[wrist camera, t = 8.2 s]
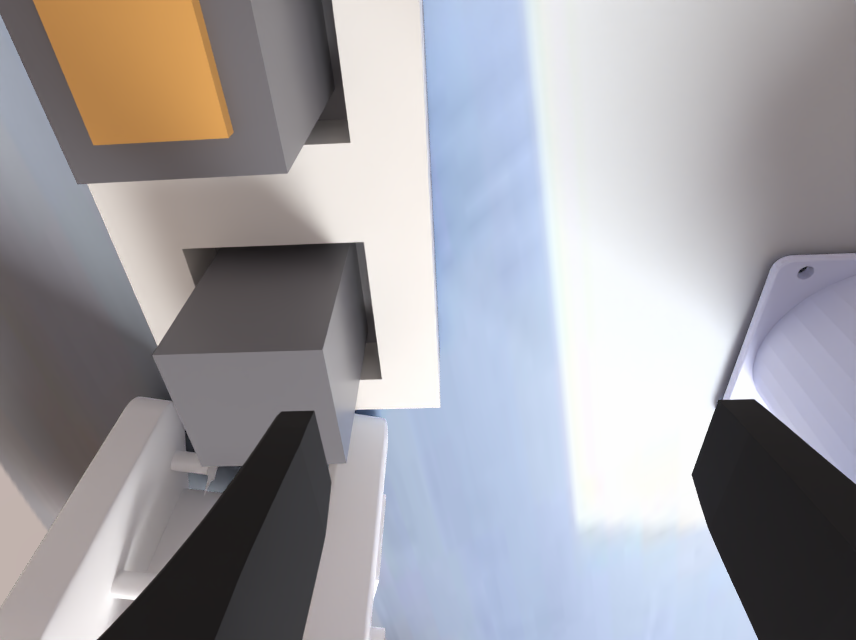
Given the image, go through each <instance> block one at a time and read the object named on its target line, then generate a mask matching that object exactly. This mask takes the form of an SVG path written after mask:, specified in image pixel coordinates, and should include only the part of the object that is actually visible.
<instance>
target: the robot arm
mask: <svg viewBox="0 0 856 640" xmlns="http://www.w3.org/2000/svg"><path fill="white" fill-rule="evenodd" d="M807 266H808V267H807ZM804 267H807V268H806V270H804V271H803V272H801V273H798V272H799V271H800V270H801V269H802V268H804ZM692 477H693V480H694V484H695V487H696V491H697V494H698V497H699V501H700V504H701V507H702V510H703V513H704V517H705V520H706V523H707V526H708V529H709V531H710V534H711V536H712V538H713V540H714V543H715V545H716V547H717V549H718V552H719V554H720V556H721V558H722V561H723V563H724V565H725V567H726V570H727V572H728V574H729V576H730V578H731V581H732V583H733V585H734V587H735V589H736V592H737V594H738V596H739V598H740V600H741V602H742V605H743V607H744V609H745V611H746V613H747V616H748V618H749V620H750V622H751V624H752V626H753V629H754V631H755V633H756V635H757V637H758V640H856V253H844V254H817V255H790V256H785V257H782V258H780V259H778V260H777V261H776V262H775V263H774V264H773V265H772V267H771V269H770V272H769V274H768V277H767V280H766V283H765V285H764V288H763V291H762V293H761V296H760V299H759V302H758V304H757V307H756V310H755V313H754V315H753V318H752V321H751V323H750V326H749V329H748V332H747V334H746V337H745V340H744V343H743V345H742V348H741V351H740V353H739V356H738V359H737V362H736V364H735V367H734V370H733V373H732V375H731V378H730V381H729V384H728V386H727V389H726V392H725V394H724V397H723V400H718V403H717V406H716V409H715V411H714V414H713V417H712V420H711V423H710V425H709V428H708V431H707V434H706V436H705V439H704V442H703V445H702V447H701V450H700V453H699V456H698V459H697V461H696V464H695V467H694V470H693V472H692ZM331 483H332V482H331V478H330V474H329V469H328V465H327V461H326V457H325V453H324V449H323V444H322V440H321V436H320V432H319V428H318V424H317V419H316V415H315V411H281V412H280V413H279V414H278V415H277V416H276V418H275V419H274V421H273V422H272V424H271V425H270V427H269V428H268V430H267V431H266V433H265V434H264V435H263V437H262V438H261V440H260V441H259V443H258V444H257V446H256V447H255V449H254V450H253V452H252V453H251V455H250V456H249V457H248V459H247V460H246V462H245V463H244V464H243V466H242V467H241V469H240V470H239V472H238V473H237V474H236V476H235V477H234V479H233V480H232V481H231V483H230V484H229V485H228V487H227V488H226V489H225V491H224V492H223V493H222V495H221V496H220V497H219V499H218V500H217V501H216V503H215V504H214V505H213V507H212V508H211V509H210V511H209V512H208V513H207V515H206V516H205V517H204V519H203V520H202V521H201V522H200V524H199V525H198V526H197V527H196V529H195V530H194V531H193V532H192V533H191V535H190V536H189V537H188V538H187V540H186V541H185V542H184V543H183V544H182V546H181V547H180V548H179V549H178V551H177V552H176V553H175V554H174V555H173V557H172V558H171V559H170V560H169V562H168V563H167V564H166V565H165V566H164V567H163V569H162V570H161V571H160V572H159V573H158V574H157V575H156V577H155V578H154V579H153V580H152V581H151V582H150V583H149V585H148V586H147V587H146V588H145V589H144V590H143V591H142V592H141V594H140V595H139V596H138V597H137V598H136V599H135V600H134V601H133V602H132V603H131V604H130V605H129V607H128V608H127V609H126V610H125V611H124V612H123V613H122V614H121V615H120V616H119V617H118V618H117V619H116V620H115V622H114V623H113V624H112V625H111V626H110V627H109V628H108V629H107V630H106V631H105V632H104V633H103V634H102V635H101V636H100V637H99V638H98V639H97V640H302V639H303V635H304V630H305V626H306V621H307V617H308V613H309V608H310V604H311V599H312V595H313V591H314V586H315V582H316V577H317V573H318V568H319V564H320V559H321V555H322V550H323V546H324V541H325V536H326V529H327V520H328V512H329V502H330V492H331Z"/></svg>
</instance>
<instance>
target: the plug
mask: <svg viewBox="0 0 856 640" xmlns="http://www.w3.org/2000/svg"><path fill="white" fill-rule="evenodd" d="M0 14H1V17H2V19H3V21H4V23H5V25H6V28H7V30H8V32H9V34H10V36H11V39H12V41H13V43H14V45H15V47H16V50H17V52H18V54H19V56H20V58H21V61H22V63H23V65H24V67H25V69H26V72H27V74H28V76H29V78H30V80H31V83H32V85H33V87H34V89H35V92H36V94H37V96H38V98H39V100H40V103H41V105H42V107H43V109H44V111H45V114H46V116H47V118H48V120H49V122H50V125H51V127H52V129H53V131H54V133H55V136H56V138H57V140H58V142H59V144H60V147H61V149H62V151H63V153H64V155H65V158H66V160H67V162H68V164H69V167H70V169H71V171H72V173H73V175H74V178H75V180H76V182H77V184H94V183H113V182H133V181H152V180H172V179H191V178H211V177H230V176H249V175H269V174H288V172H289V170H290V169H291V167H292V165H293V163H294V161H295V160H296V158H297V156H298V154H299V153H300V151H301V149H302V147H303V145H304V144H305V142H306V140H307V138H308V136H309V135H310V133H311V131H312V129H313V128H314V126H315V124H316V122H317V120H318V119H319V117H320V115H321V113H322V112H323V110H324V108H325V106H326V104H327V103H328V101H329V99H330V97H331V95H332V94H333V92H334V90H335V84H334V78H333V71H332V64H331V58H330V51H329V44H328V37H327V31H326V24H325V17H324V11H323V4H322V0H0Z"/></svg>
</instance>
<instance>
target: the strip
mask: <svg viewBox="0 0 856 640" xmlns="http://www.w3.org/2000/svg"><path fill="white" fill-rule="evenodd" d="M322 4H323V11H324V17H325V24H326V31H327V37H328V44H329V51H330V58H331V64H332V71H333V78H334V84H335V90H334V92H333V94H332V95H331V97H330V99H329V101H328V103H327V104H326V106H325V108H324V110H323V112H322V113H321V115H320V117H319V119H318V120H317V122H316V124H315V126H314V128H313V129H312V131H311V133H310V135H309V136H308V138H307V140H306V142H305V144H304V145H303V147H302V149H301V151H300V153H299V154H298V156H297V158H296V160H295V161H294V163H293V165H292V167H291V169H290V170H289V172H288V174H269V175H249V176H230V177H211V178H191V179H172V180H152V181H133V182H113V183H94V184H88V187H89V189H90V191H91V194H92V196H93V198H94V201H95V203H96V205H97V207H98V210H99V212H100V214H101V217H102V219H103V221H104V224H105V226H106V228H107V231H108V233H109V235H110V237H111V240H112V242H113V244H114V247H115V249H116V251H117V254H118V256H119V258H120V261H121V263H122V265H123V267H124V270H125V272H126V274H127V277H128V279H129V281H130V284H131V286H132V288H133V291H134V293H135V295H136V297H137V300H138V302H139V304H140V307H141V309H142V311H143V314H144V316H145V318H146V321H147V323H148V325H149V327H150V330H151V332H152V334H153V337H154V339H155V341H156V344H157V346H158V347H157V348H156V350H155V351H154V353H153V354H152V356H153V358H154V361H155V363H156V365H157V367H158V370H159V372H160V374H161V376H162V379H163V381H164V383H165V385H166V388H167V390H168V392H169V394H170V397H171V399H172V401H173V403H174V406H175V408H176V410H177V412H178V414H179V417H180V419H181V421H182V423H183V426H184V428H185V430H186V432H187V435H188V437H189V439H190V441H191V444H192V446H193V448H194V450H195V453H196V455H197V457H198V459H199V462H200V464H201V466H202V467H213V466H243V464H244V463H245V462H246V460H247V459H248V457H249V456H250V455H251V453H252V452H253V450H254V449H255V447H256V446H257V444H258V443H259V441H260V440H261V438H262V437H263V435H264V434H265V433H266V431H267V430H268V428H269V427H270V425H271V424H272V422H273V421H274V419H275V418H276V416H277V415H278V414H279V413H280V412H281V411H315V415H316V419H317V424H318V428H319V432H320V436H321V440H322V444H323V449H324V453H325V457H326V461H327V464H346V463H347V457H348V450H349V444H350V438H351V432H352V426H353V420H354V413H355V410H365V409H403V408H440V347H439V327H438V306H437V285H436V264H435V243H434V222H433V201H432V180H431V160H430V139H429V118H428V97H427V76H426V55H425V34H424V13H423V0H322Z"/></svg>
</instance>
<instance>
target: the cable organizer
mask: <svg viewBox="0 0 856 640" xmlns="http://www.w3.org/2000/svg"><path fill="white" fill-rule="evenodd" d="M387 446H388V427H387V421H386V419H385V418H381V417H374V416H368V415H361V414H354V420H353V426H352V432H351V438H350V444H349V450H348V457H347V463H346V464H329V467H328V469H329V474H330V478H331V482H332V483H331V492H330V502H329V512H328V520H327V529H326V536H325V541H324V546H323V550H322V555H321V559H320V564H319V568H318V573H317V577H316V582H315V586H314V591H313V595H312V599H311V604H310V608H309V613H308V617H307V621H306V626H305V630H304V635H303V639H302V640H385V628H381V627H372V626H371V622H372V611H373V600H374V596H375V592H376V589H377V585H378V582H379V574H380V562H381V551H382V539H383V528H384V516H385V504H386V495H384V494H383V491H384V480H385V469H386V458H387ZM217 468H218V466H213V467H202V466H201V464H200V462H199V459H198V457H197V455H196V453H194V452H187V451H186V441H185V428H184V426H183V423H182V421H181V419H180V417H179V414H178V412H177V410H176V408H175V406H174V403H173V401H168V400H162V399H155V398H148V397H141V396H139V397H136V398H134V399H133V400H131V401H130V402H129V403H128V405H127V406H126V407H125V409H124V410H123V412H122V414H121V415H120V417H119V418H118V420H117V422H116V423H115V425H114V426H113V428H112V430H111V431H110V433H109V434H108V436H107V438H106V439H105V441H104V442H103V444H102V446H101V447H100V449H99V450H98V452H97V454H96V455H95V457H94V458H93V460H92V462H91V463H90V465H89V466H88V468H87V470H86V471H85V473H84V474H83V476H82V478H81V479H80V481H79V482H78V484H77V486H76V487H75V489H74V490H73V492H72V494H71V495H70V497H69V498H68V500H67V502H66V503H65V505H64V506H63V508H62V510H61V511H60V513H59V514H58V516H57V518H56V519H55V521H54V522H53V524H52V526H51V527H50V529H49V530H48V532H47V534H46V535H45V537H44V539H43V540H42V542H41V543H40V545H39V547H38V548H37V550H36V551H35V553H34V555H33V556H32V558H31V559H30V561H29V563H28V564H27V566H26V567H25V569H24V571H23V572H22V574H21V576H20V577H19V579H18V580H17V582H16V583H15V585H14V587H13V588H12V590H11V591H10V593H9V595H8V596H7V598H6V599H5V601H4V603H3V604H2V606H1V608H0V640H97V639H98V638H99V637H100V636H101V635H102V634H103V633H104V632H105V631H106V630H107V629H108V628H109V627H110V626H111V625H112V624H113V623H114V622H115V620H116V619H117V618H118V617H119V616H120V615H121V614H122V613H123V612H124V611H125V610H126V609H127V608H128V607H129V605H130V604H131V603H132V602H133V601H134V600H135V599H136V598H137V597H138V596H139V595H140V594H141V592H142V591H143V590H144V589H145V588H146V587H147V586H148V585H149V583H150V582H151V581H152V580H153V579H154V578H155V577H156V575H157V574H158V573H159V572H160V571H161V570H162V569H163V567H164V566H165V565H166V564H167V563H168V562H169V560H170V559H171V558H172V557H173V555H174V554H175V553H176V552H177V551H178V549H179V548H180V547H181V546H182V544H183V543H184V542H185V541H186V540H187V538H188V537H189V536H190V535H191V533H192V532H193V531H194V530H195V529H196V527H197V526H198V525H199V524H200V522H201V521H202V520H203V519H204V517H205V516H206V515H207V513H208V512H209V511H210V509H211V508H212V507H213V505H214V504H215V503H216V501H217V500H218V499H219V497H220V496H221V495H222V493H220V492H212V491H207V489H208V487H209V485H210V482H211V481H214V479H215V476H216V472H217ZM188 472H189V473H196V474H204V475H208V480H207V484H206V488H205V490H197V489H189V478H188Z"/></svg>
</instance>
